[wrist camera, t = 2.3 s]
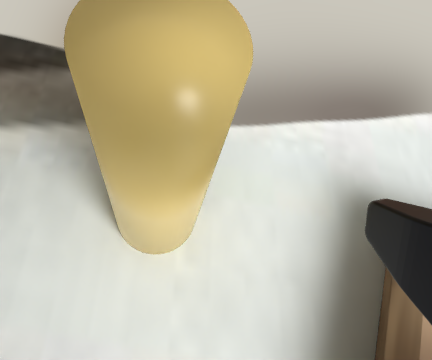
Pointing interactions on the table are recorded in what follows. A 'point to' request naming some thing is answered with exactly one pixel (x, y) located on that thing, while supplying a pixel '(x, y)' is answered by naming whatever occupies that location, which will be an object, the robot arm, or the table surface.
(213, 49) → the plug
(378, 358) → the walled box
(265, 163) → the table surface
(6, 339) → the table surface
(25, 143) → the table surface
